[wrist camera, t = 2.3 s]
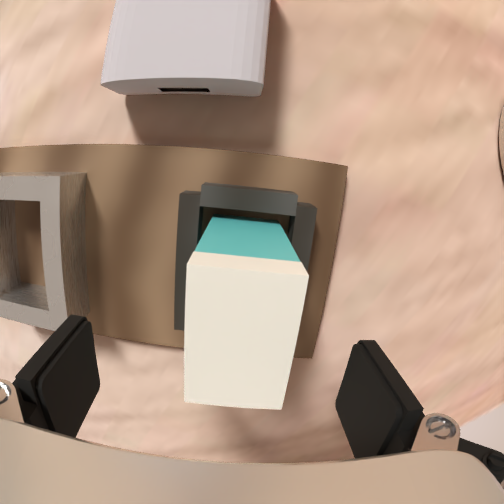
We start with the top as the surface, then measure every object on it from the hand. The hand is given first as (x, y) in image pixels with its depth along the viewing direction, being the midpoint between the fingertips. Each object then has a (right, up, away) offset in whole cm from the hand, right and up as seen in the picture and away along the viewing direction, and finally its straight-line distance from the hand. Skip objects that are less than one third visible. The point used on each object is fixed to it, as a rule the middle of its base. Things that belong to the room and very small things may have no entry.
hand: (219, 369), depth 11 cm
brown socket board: (-7, +4, +11) cm, 14 cm away
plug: (0, +3, +10) cm, 11 cm away
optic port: (-15, +5, +11) cm, 19 cm away
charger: (-2, +21, +7) cm, 23 cm away
